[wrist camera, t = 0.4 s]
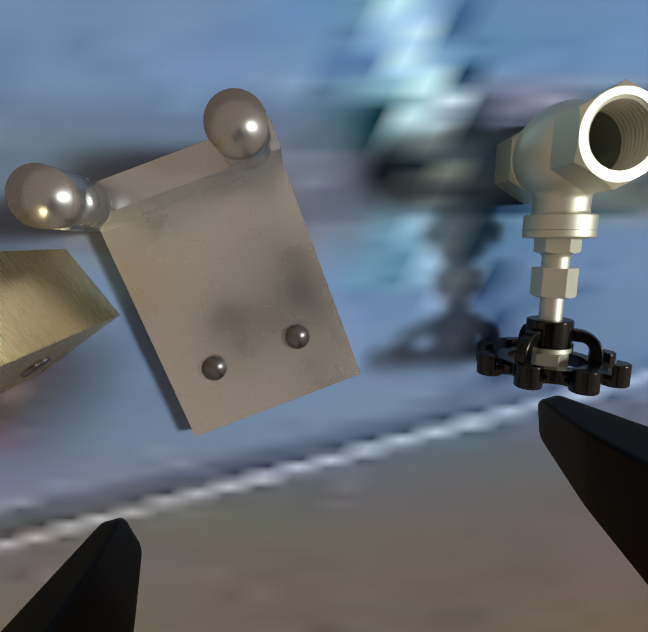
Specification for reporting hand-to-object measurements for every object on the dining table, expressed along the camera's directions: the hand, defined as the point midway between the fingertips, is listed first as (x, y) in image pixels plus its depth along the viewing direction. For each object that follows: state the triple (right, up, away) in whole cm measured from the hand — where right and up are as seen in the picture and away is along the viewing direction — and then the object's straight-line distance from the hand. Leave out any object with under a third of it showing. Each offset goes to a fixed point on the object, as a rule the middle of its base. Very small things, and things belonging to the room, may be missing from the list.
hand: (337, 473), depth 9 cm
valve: (+10, +7, +14) cm, 19 cm away
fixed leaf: (-5, +4, +13) cm, 14 cm away
